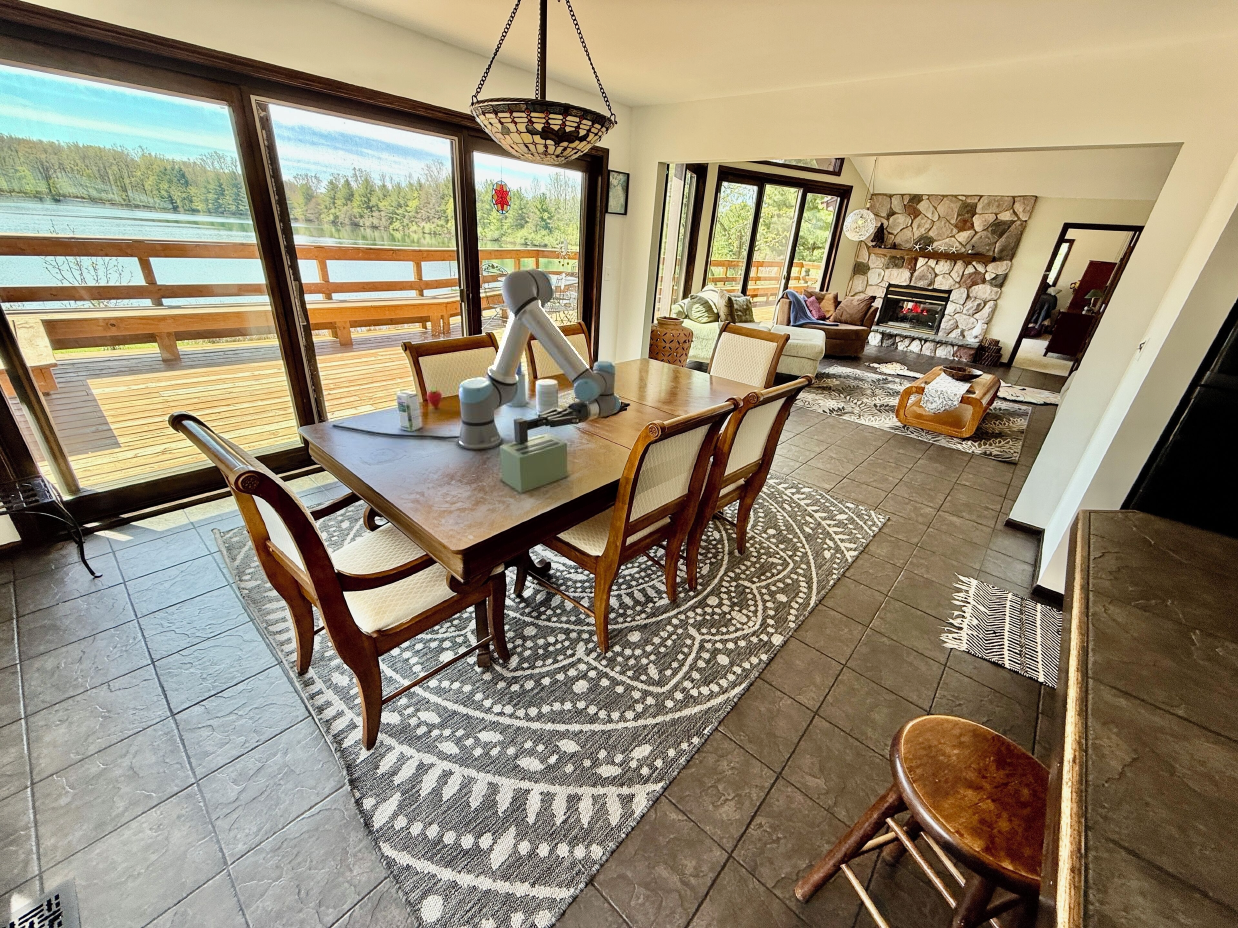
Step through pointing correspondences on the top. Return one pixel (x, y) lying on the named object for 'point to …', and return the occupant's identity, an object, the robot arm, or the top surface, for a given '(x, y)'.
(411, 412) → the syrup box
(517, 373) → the spray bottle
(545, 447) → the toaster
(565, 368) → the robot arm
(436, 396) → the strawberry
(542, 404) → the supplement tub
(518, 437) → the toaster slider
